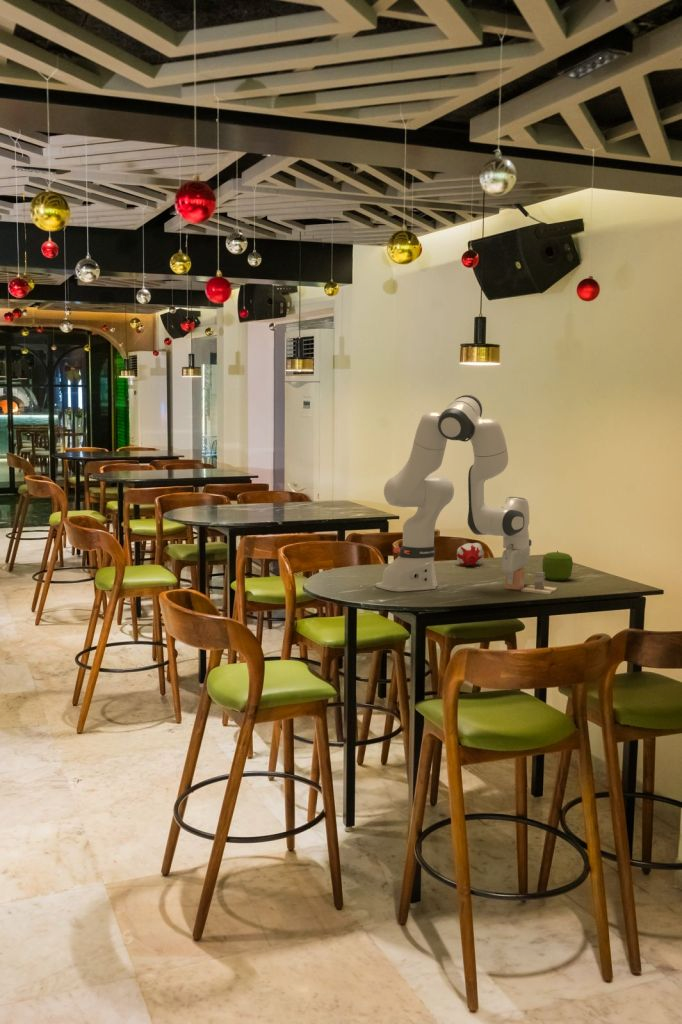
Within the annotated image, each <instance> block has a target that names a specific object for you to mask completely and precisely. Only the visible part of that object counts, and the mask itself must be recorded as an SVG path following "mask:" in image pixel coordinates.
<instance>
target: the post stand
mask: <svg viewBox="0 0 682 1024" xmlns="http://www.w3.org/2000/svg"><path fill="white" fill-rule="evenodd" d="M557 590H558V587H555V586H554V587H553V586H545V572H543V571H535V573H534V585H532V584H528V585H527V586H524V588H522V589H520V592H524V593H534V594H543V595H545V594H546V595H550V594H552V593H554V592H555V591H557Z"/></svg>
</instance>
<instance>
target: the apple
mask: <svg viewBox="0 0 682 1024" xmlns="http://www.w3.org/2000/svg"><path fill="white" fill-rule="evenodd" d="M542 572H545V576H544V578H546V579H547V580H549V581H554V582H561V581H565V580H567V579H569V578H570V577H572V572H573V557H572V556H571V555H570V554H569V553H565V552H559V550H557V551H552V552H547V553H546V554H544V555H543V559H542Z"/></svg>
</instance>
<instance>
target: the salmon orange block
mask: <svg viewBox="0 0 682 1024" xmlns="http://www.w3.org/2000/svg"><path fill="white" fill-rule="evenodd" d="M525 569H526V568H524V569H518V570H516V571H514V572H513V579H514V583H513V584H508V583H507V576H506V575H505V582H504V583H505V586H504V589H507V590H508V589H509V590H519V591H521V589H523V588H525Z"/></svg>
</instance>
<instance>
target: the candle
mask: <svg viewBox="0 0 682 1024" xmlns="http://www.w3.org/2000/svg"><path fill="white" fill-rule="evenodd" d="M484 555H485V553H484V550H483V546H482V544H481V543H480V542H473V543H471V542H468V543H464V544H463V545H461V546H459V547H458V548H457V550H456V554H455V556H456V559H457V561H458V562H459V564H460V565H461V566H470V567H474V566H476V565H477V566H480V565H481V564H482V562H483V560H484V558H485V556H484Z"/></svg>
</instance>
